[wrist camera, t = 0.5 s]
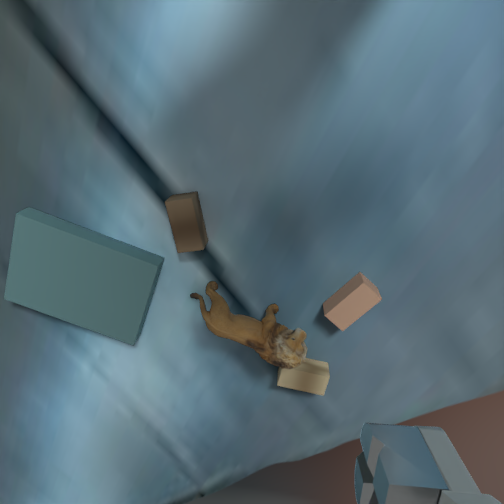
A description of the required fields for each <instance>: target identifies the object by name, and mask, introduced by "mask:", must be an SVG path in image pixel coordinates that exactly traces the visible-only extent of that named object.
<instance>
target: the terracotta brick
mask: <svg viewBox="0 0 504 504" xmlns="http://www.w3.org/2000/svg"><path fill="white" fill-rule="evenodd" d="M381 300H382V298H381V296H380V293H379V291H378V288H377V287H376V286H375V285H374V284H373V283H372V282H370V281H369V280H368V279H367V278H366V277H365V276H364V275H363V274H362V273H361V272H359V273H358V274H357V275H356V276H354V277H353V278H352V279H351V280H350V281H349V282H347V283H346V284H345V285H344V286H343V287H342V288H340V289H339V290H338V291H337V292H336V293H335V294H333V295H332V296H331V297H330V298H329V299H328V300H326V301H325V302H324V303H323V308H324V315H325V316H326V317H327V318H328V319H329V320H330V321H331V322H332V323H334V324H335V325H336V326H337V327H338V328H339V329H341V330H342V331H344V330H345V329H346V328H347V327H348V326H350V325H351V324H352V323H353V322H355V321H356V320H357V319H358V318H360V317H361V316H362V315H363V314H365V313H366V312H367V311H368V310H369V309H371V308H372V307H373V306H374V305H376V304H377V303H378V302H379V301H381Z"/></svg>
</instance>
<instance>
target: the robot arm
mask: <svg viewBox="0 0 504 504" xmlns="http://www.w3.org/2000/svg"><path fill="white" fill-rule="evenodd" d="M360 440H361V444H362V448H363V452H362V453H361V454H360V455H359V456H357V459H356V466H355V492H356V499H357V503H358V504H502V503H500V502H499V501H498V500H496V499H495V498H494V497H492V496H491V495H488V494H481V492H480V490H479V489H478V487H477V485H476V484H475V482H474V480H473V479H472V477H471V475H470V474H469V472H468V470H467V468H466V467H465V465H464V463H463V462H462V460H461V458H460V457H459V455H458V453H457V451H456V450H455V448H454V446H453V445H452V443H451V441H450V440H449V438H448V436H447V435H446V433H445V431H444V430H443V429H441V428H440V427H427V426H414V427H413V426H402V425H401V426H400V425H389V424H377V423H364V425H363V427H362V431H361V436H360Z"/></svg>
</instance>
